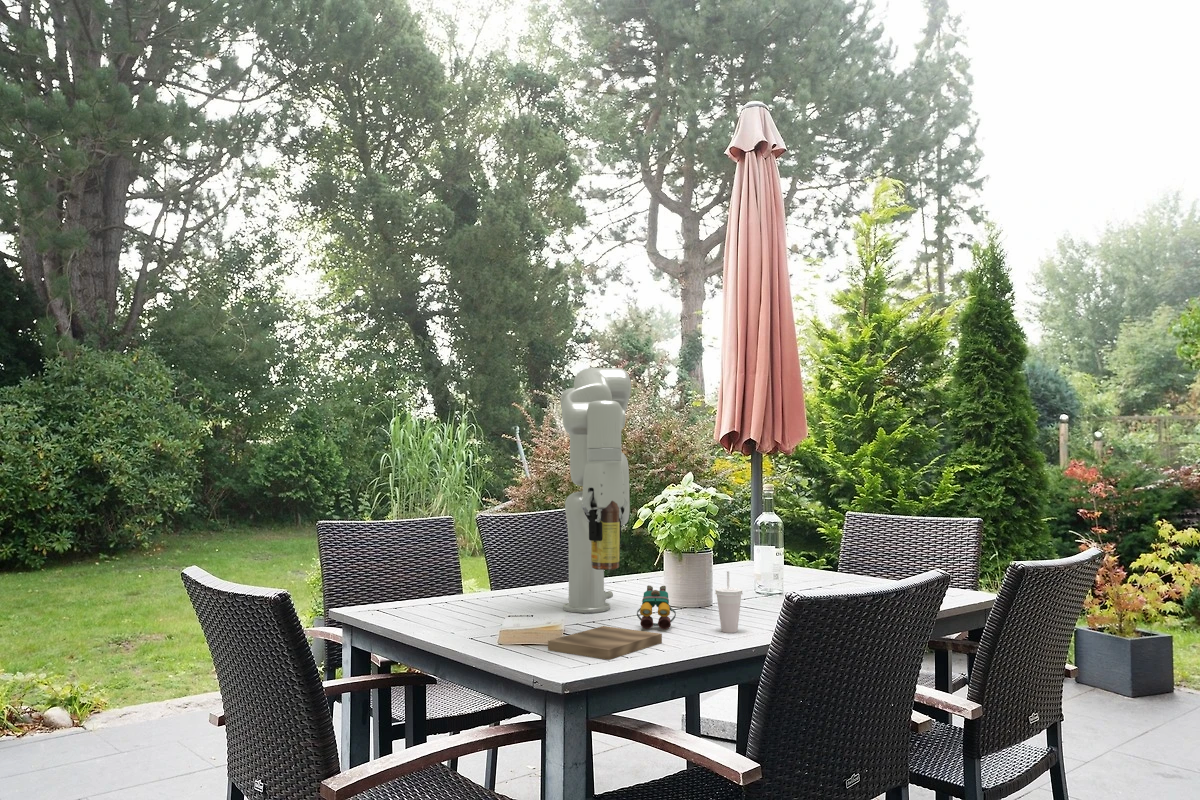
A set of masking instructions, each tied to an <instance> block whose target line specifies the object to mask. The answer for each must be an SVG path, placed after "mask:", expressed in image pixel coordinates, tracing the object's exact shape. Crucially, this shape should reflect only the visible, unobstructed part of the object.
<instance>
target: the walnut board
mask: <svg viewBox="0 0 1200 800" xmlns="http://www.w3.org/2000/svg"><path fill="white" fill-rule="evenodd" d="M662 643H663V633H661V632H660V633H659V632H652V631H644V630H639V629H638V630H637V629H629V628H622V627H620V628H619V627H614V626H606V625H602V626H597V627H594V628H591V629H587V630H583V631H580V632H575V633H572V634H568V635H564V636H560V637H556V638H553V639H550V640H548V641H547V650H548V651H552V652H558V653H563V654H571V655H577V656H583V657H588V658H595V659H600V660H601V659H602V660H607V661H609V660H613V659H615V658H616V659H617V658H619V657H621V656H625V655H628V654H631V653H635V652H638V651H641V650H643V649H644V650H645V649H647V648H650V647H653V646H656V645H660V644H662Z"/></svg>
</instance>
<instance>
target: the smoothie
mask: <svg viewBox="0 0 1200 800" xmlns="http://www.w3.org/2000/svg"><path fill="white" fill-rule="evenodd" d="M714 594H715V595H716V601H717V608H718V613H719V615H718V616H719V621H720V628H721V629H720V630H721V632H722V633H724V634H725V633H728V634H733V633H735V634H736V633H738V631H739V630H738V629H739V621H740V610H741V609H740V608H741V602H742V601H741V600H742V595H743V594H744V593H743V589H741V588H737V587H730V571H729V570H727V571H726V587H718V588H715V592H714Z"/></svg>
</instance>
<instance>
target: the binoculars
mask: <svg viewBox="0 0 1200 800" xmlns="http://www.w3.org/2000/svg"><path fill="white" fill-rule="evenodd" d="M666 589H667V586H666V585H661V586H660V587H659V590H657V589H654V588H653V586H652V585H647V586H646V591H644V592H643V597H642V600H641V603H642V604H641V605H640V607H639V608H638V609H637V611H636V616H637V618H638V619H639V621H640V622H639V623H640V627H641V628H642V629H644V630H650V629H652V628H653V627H654V626H655V627H657V626H658V627H659V628H660V629H662V630H668V629H670V628H671V626H672V622H673V621H674V620H675V618H676V614H677V612H676V611H675V610H674V608H673V607H672V605H670V600H669V593H668V592H667V591H666ZM655 607H657V615H658V616H660V617H659V618H658V621H657V622H654V620H653V619H654V618H653V617H652V615H653V608H655ZM671 612H673V613H674V615H673V617H672V618H670V617H669V616H670V614H671ZM639 613H640V615H641V616H642V617H641V616H640V615H639Z"/></svg>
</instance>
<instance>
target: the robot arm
mask: <svg viewBox="0 0 1200 800" xmlns="http://www.w3.org/2000/svg"><path fill="white" fill-rule="evenodd" d="M631 393H632V381H631V377H630V375H629V373H628V372H627V371H626V369H623V368H619V367H591V368H585V369H582V370H580V371H579V372H578V373H577V374H576V376H575V377H574V380H573V387H570V388H566V389H565V390H563V391H562V393H561V395H560V409H561V419H562V424H563V428H564V430H565V432H566V433H567V434H568V436H569V470H570V472H569V473H570V478H571V482H572V483H573V484H575V485H576V486H579V487H582V491H576V492H572V493H570V494H569V495H568V496H567V497H566V499H565V502H564V510H565V511H564V512H565V518H566V526H567V537H568V538H567V539H568V540H567V541H568V542H567V543H568V602H567V603H564V604H563V605H562V609H563V611H565V612H571V613H577V614H578V613H579V614H580V613H581V614H582V613H585V614H588V613H589V614H590V613H601V612H606V611H609V610H610V609H611V605H610V603H608V602H607V600H608V599H611V598H613V597H614V593H613V591H611V590H608V591H606V590H605V570H596V569H594V568H592V562H591V540H592V541H602V522H600V519H601V515H602V511H603V509H604V508H606V507H607V506H608V505H609V504H610V503H611V501H612V500H613V501H614V502H616V503H617V505H618V507H619V521H620V539H622V526H625V525H626V524H627V523H628V522H629V518H630V510H631V509H630V508H631V507H630V505H631V502H630V469H629V462H628V458H627V456H626V454H625V453H623V452H622V450H623V449H622V430H624V428H625V426H626V411H627V408H628V405H629V402H630V397H631ZM595 506H597V507H595ZM594 511H597V513H596V514H595V512H594Z"/></svg>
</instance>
